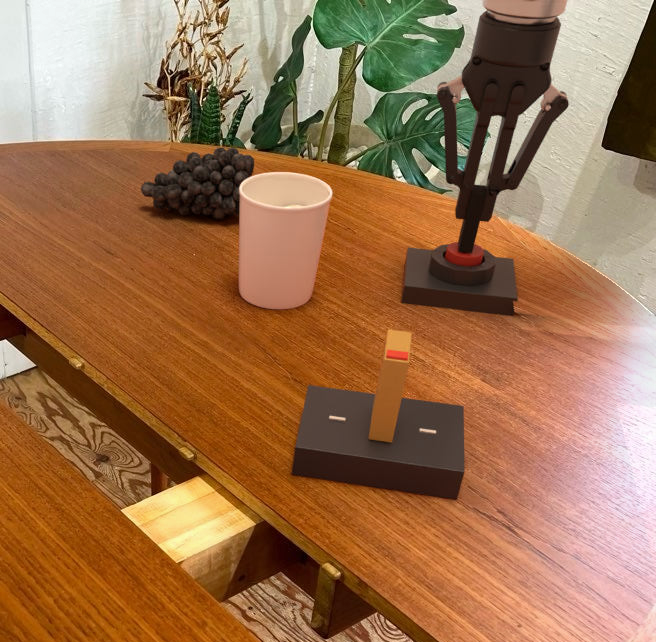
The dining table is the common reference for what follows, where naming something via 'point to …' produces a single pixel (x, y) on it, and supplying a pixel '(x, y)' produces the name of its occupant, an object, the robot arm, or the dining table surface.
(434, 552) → the dining table surface
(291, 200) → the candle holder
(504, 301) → the bell block
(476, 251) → the bell button
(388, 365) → the tan upright plank
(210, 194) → the fruit
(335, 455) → the dark lever base block
